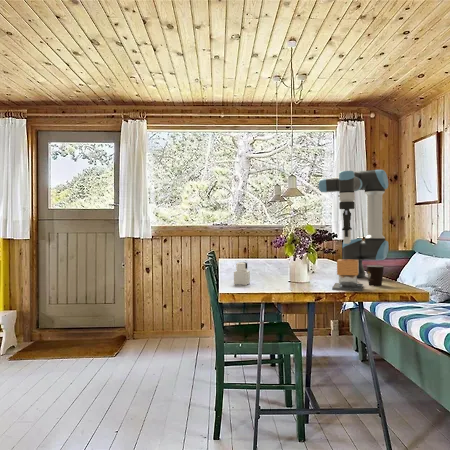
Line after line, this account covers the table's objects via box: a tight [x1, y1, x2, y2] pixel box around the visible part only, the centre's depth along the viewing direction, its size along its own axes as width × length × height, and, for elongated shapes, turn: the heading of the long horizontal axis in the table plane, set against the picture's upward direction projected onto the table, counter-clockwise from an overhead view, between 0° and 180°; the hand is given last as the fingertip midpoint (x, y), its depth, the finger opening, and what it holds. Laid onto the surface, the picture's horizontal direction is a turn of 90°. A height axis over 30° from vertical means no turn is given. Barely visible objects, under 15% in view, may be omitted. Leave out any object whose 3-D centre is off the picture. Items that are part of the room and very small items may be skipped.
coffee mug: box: [365, 264, 385, 287], centre depth 232 cm, size 12×9×10 cm
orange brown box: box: [336, 258, 359, 276], centre depth 222 cm, size 10×10×7 cm
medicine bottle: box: [233, 261, 251, 286], centre depth 239 cm, size 7×7×12 cm
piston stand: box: [332, 275, 364, 292], centre depth 222 cm, size 18×14×12 cm
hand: (347, 243), depth 223 cm, fingers open, 13 cm apart
